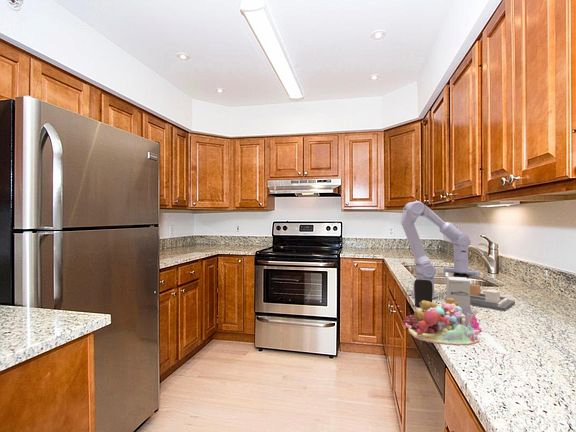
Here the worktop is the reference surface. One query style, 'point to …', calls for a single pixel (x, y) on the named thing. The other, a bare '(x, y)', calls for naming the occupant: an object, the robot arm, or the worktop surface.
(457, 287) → the supplement box
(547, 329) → the worktop surface
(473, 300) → the gray compartment tray
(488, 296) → the cream white block
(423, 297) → the battery charger
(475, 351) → the worktop surface
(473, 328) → the candy landscape model
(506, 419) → the worktop surface
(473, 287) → the orange block
